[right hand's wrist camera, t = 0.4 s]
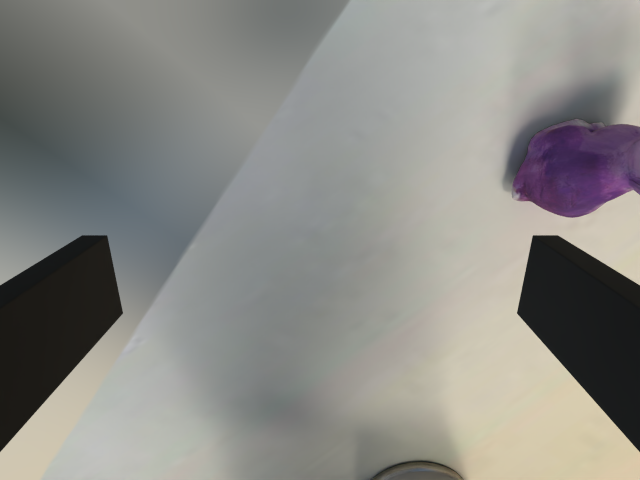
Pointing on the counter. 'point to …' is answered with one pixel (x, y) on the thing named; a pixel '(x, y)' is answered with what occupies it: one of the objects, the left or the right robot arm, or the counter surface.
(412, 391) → the counter surface
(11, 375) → the right robot arm
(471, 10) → the counter surface
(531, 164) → the figurine
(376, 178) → the counter surface
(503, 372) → the counter surface
